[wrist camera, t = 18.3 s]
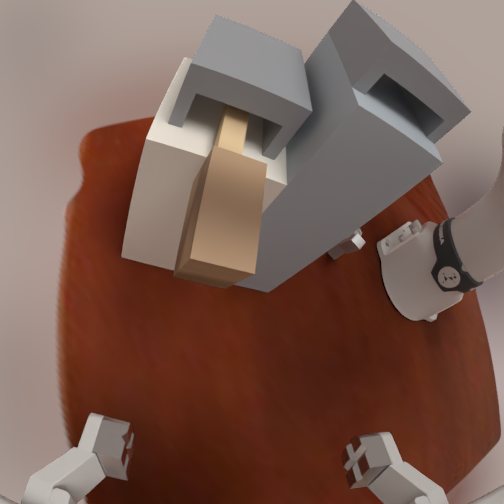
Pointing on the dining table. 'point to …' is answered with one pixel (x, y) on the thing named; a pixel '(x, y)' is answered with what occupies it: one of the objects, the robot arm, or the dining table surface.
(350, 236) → the lighter
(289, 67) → the stand
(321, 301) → the dining table surface
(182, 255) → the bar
